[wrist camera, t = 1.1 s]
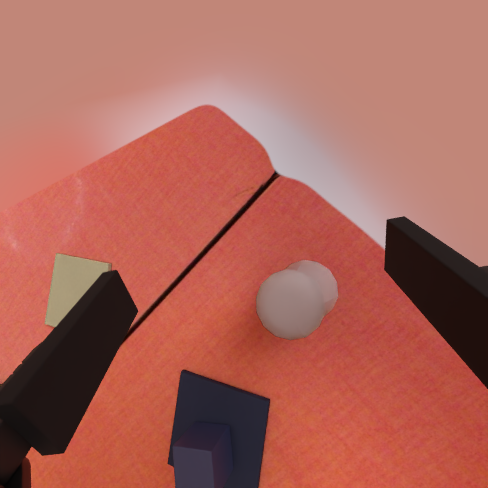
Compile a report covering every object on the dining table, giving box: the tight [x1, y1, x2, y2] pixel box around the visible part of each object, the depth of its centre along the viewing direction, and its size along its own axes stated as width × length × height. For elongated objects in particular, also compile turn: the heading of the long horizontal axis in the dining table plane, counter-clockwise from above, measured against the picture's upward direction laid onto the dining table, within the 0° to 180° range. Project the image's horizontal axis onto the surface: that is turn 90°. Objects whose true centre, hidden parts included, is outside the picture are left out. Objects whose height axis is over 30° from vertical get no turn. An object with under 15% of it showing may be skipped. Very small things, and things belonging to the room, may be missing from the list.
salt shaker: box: [256, 260, 338, 340], centre depth 21 cm, size 6×6×13 cm
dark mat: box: [168, 370, 270, 488], centre depth 29 cm, size 11×11×1 cm
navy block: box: [173, 422, 233, 488], centre depth 27 cm, size 4×4×4 cm
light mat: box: [45, 253, 112, 327], centre depth 38 cm, size 11×11×1 cm
